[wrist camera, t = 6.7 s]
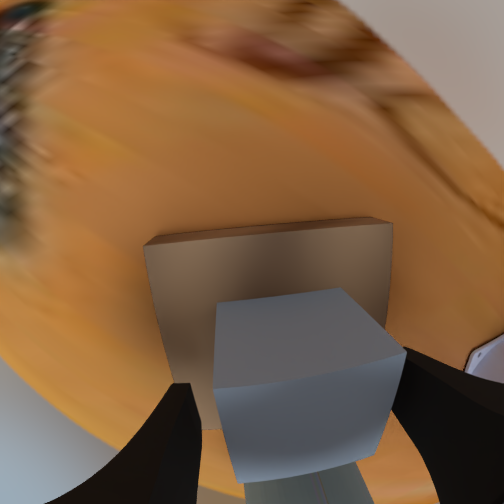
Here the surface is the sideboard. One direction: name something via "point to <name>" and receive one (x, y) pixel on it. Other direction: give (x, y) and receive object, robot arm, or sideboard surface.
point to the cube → (302, 382)
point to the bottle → (312, 488)
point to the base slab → (257, 282)
